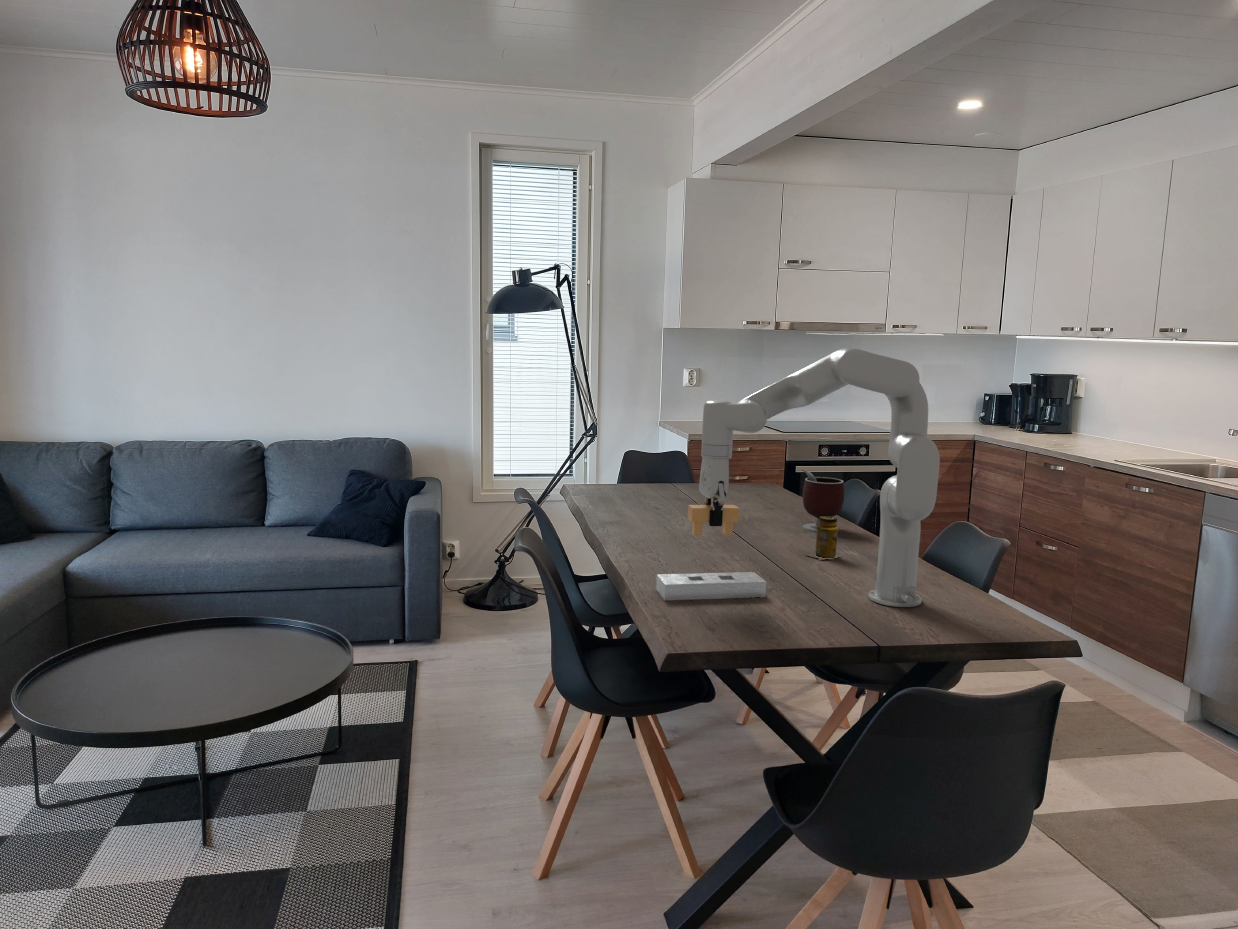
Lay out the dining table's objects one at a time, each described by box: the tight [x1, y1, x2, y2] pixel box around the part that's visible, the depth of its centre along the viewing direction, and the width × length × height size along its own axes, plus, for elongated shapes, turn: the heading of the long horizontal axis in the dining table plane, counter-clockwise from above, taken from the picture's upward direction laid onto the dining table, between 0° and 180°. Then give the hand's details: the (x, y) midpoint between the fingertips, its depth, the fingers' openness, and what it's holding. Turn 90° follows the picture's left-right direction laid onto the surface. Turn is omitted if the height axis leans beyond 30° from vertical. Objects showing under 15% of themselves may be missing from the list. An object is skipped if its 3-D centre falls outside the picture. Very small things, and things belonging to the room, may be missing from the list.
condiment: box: [814, 516, 839, 558], centre depth 254 cm, size 7×8×12 cm
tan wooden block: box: [687, 504, 740, 536], centre depth 212 cm, size 4×12×7 cm, turn 101°
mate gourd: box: [801, 468, 845, 533], centre depth 292 cm, size 16×14×20 cm
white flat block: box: [655, 571, 767, 601], centre depth 214 cm, size 9×26×4 cm, turn 101°
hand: (712, 523), depth 212 cm, fingers closed on tan wooden block, 4 cm apart
